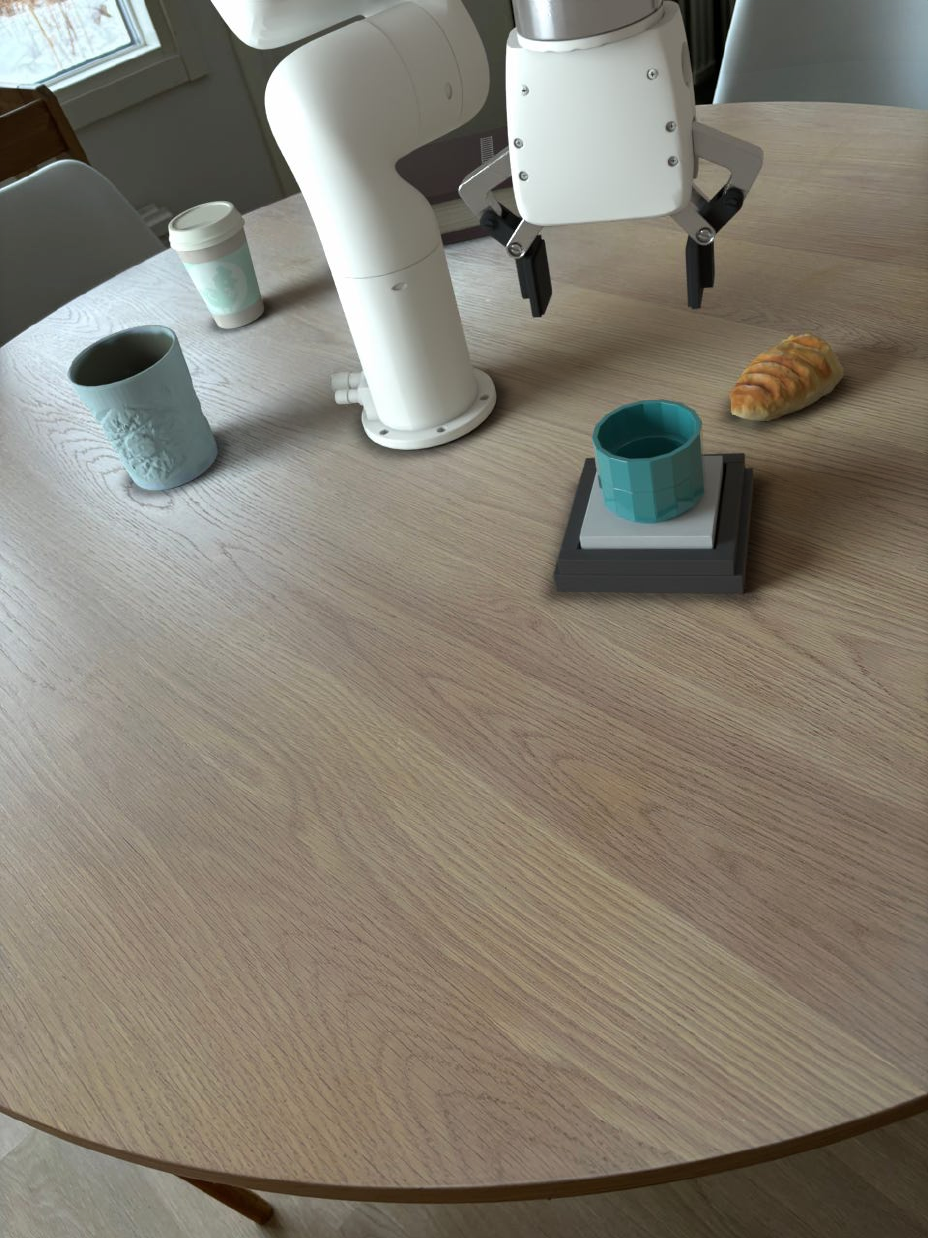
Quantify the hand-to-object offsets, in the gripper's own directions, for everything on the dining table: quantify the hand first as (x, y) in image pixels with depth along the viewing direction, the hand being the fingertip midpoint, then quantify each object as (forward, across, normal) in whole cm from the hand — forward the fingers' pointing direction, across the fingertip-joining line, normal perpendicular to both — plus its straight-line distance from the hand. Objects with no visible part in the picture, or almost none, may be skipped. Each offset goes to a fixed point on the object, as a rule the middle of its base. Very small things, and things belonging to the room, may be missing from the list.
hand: (618, 302), depth 63 cm
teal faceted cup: (+14, -1, +1) cm, 14 cm away
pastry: (+18, -10, -17) cm, 27 cm away
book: (+20, +32, -61) cm, 72 cm away
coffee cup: (+20, +52, -38) cm, 67 cm away
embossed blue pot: (+20, +46, -9) cm, 51 cm away
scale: (+18, -1, +1) cm, 18 cm away
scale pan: (+16, -1, +1) cm, 16 cm away
